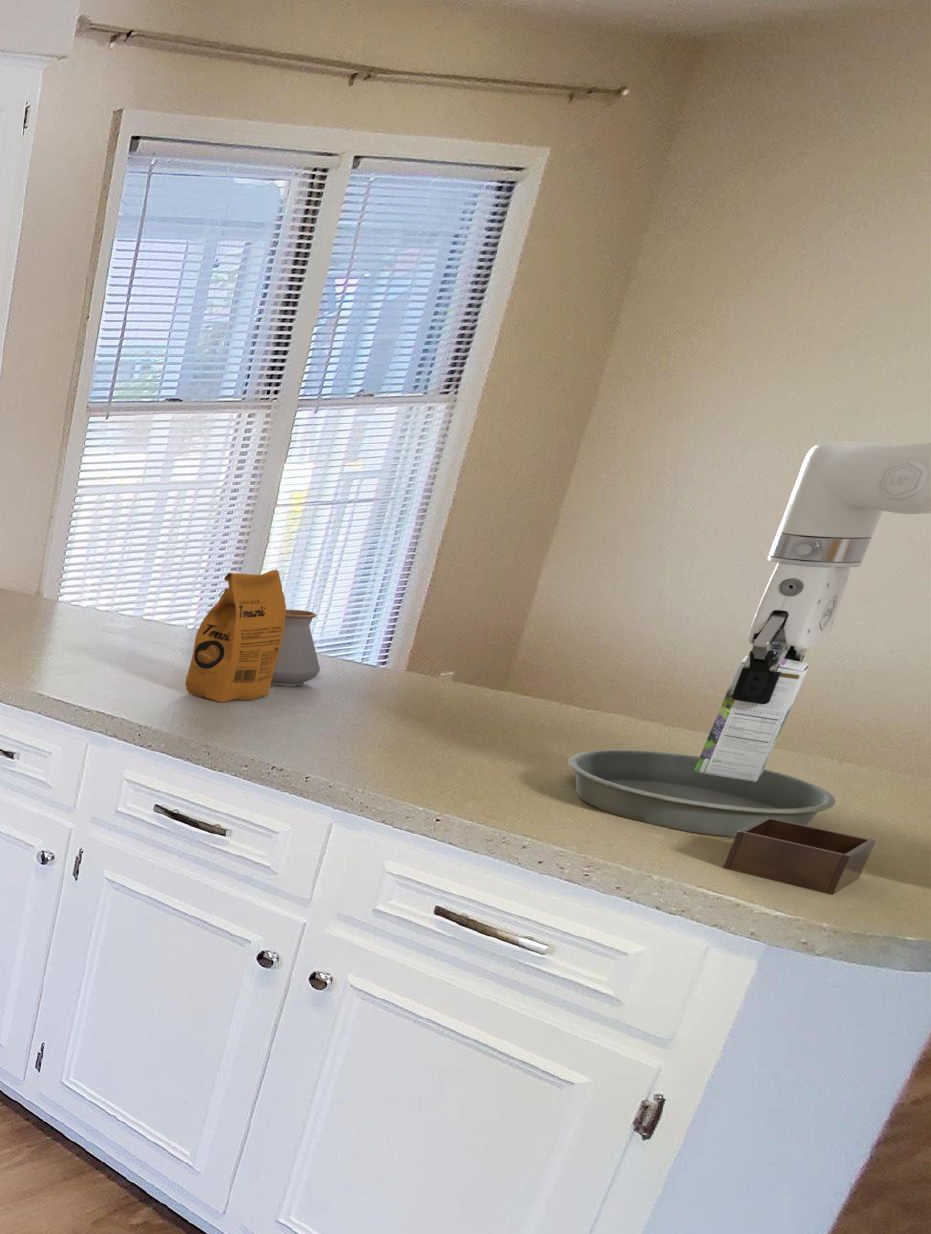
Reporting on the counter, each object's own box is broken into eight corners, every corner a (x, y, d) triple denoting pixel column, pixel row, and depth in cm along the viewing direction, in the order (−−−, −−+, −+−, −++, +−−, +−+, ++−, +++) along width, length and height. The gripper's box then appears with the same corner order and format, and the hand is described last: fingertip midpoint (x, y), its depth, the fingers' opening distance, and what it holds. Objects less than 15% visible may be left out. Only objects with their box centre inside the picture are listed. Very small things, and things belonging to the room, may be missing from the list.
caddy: (853, 890, 129) (876, 840, 127) (827, 907, 125) (849, 856, 123) (745, 864, 136) (765, 816, 134) (717, 880, 132) (737, 831, 130)
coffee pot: (331, 685, 214) (352, 604, 208) (283, 691, 211) (303, 608, 205) (229, 660, 233) (246, 585, 228) (184, 665, 230) (200, 589, 225)
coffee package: (173, 690, 213) (199, 569, 205) (231, 685, 215) (258, 565, 207) (218, 704, 203) (246, 577, 196) (277, 699, 206) (307, 574, 198)
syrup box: (699, 762, 152) (742, 653, 146) (764, 773, 147) (811, 661, 142) (693, 772, 148) (736, 660, 143) (759, 783, 144) (807, 669, 139)
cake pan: (536, 769, 169) (546, 740, 167) (771, 794, 157) (784, 762, 156) (589, 825, 148) (601, 791, 147) (863, 857, 137) (879, 822, 136)
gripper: (839, 560, 131) (777, 714, 137) (887, 548, 139) (827, 694, 145) (746, 553, 137) (691, 701, 143) (798, 541, 145) (744, 682, 151)
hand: (760, 696), depth 144 cm, fingers closed on syrup box, 6 cm apart
